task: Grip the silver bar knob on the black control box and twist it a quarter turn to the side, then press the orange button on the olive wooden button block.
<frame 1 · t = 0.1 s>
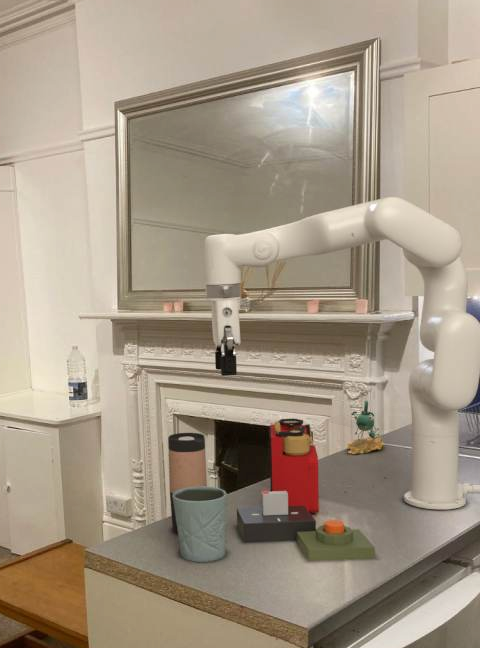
hand: (225, 372, 176), 31 cm above the counter, tool pointing down, fingers open, 9 cm apart
button block: (334, 550, 153), on the counter
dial: (274, 502, 164), point 6 cm above the counter, hinge at 0.0°
button: (334, 527, 153), point 4 cm above the counter, slide at 0.1 cm
travel mug: (189, 531, 169), on the counter
red coffee machine: (293, 508, 180), on the counter
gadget: (275, 533, 165), on the counter
teal embossed cup: (201, 554, 155), on the counter
green character figurine: (367, 448, 231), on the counter
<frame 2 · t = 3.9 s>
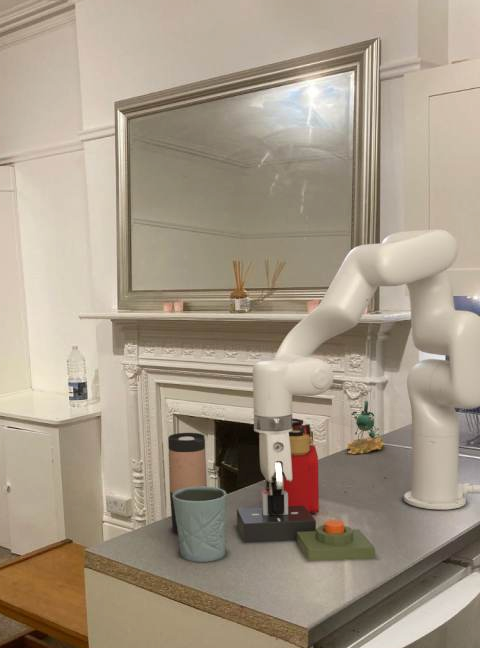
hand: (274, 511, 164), 5 cm above the counter, tool pointing down, fingers closed on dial
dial: (274, 502, 164), point 6 cm above the counter, hinge at 0.0°, touching gripper
everything else where it was.
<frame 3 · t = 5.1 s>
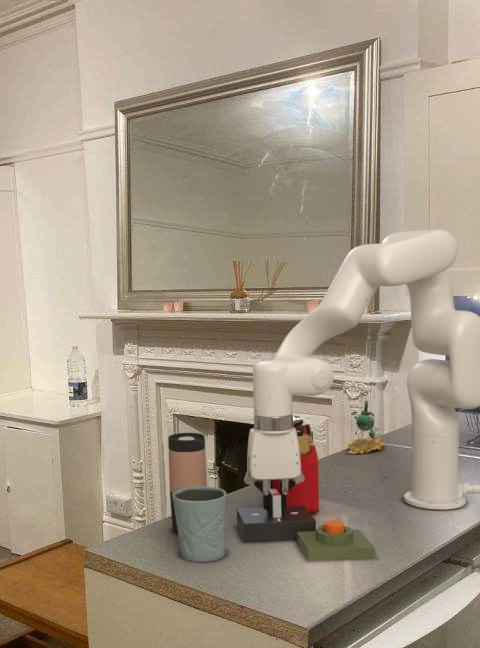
hand: (274, 511, 164), 5 cm above the counter, tool pointing down, fingers closed on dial
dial: (274, 502, 164), point 6 cm above the counter, hinge at 89.9°, touching gripper
everything else where it was.
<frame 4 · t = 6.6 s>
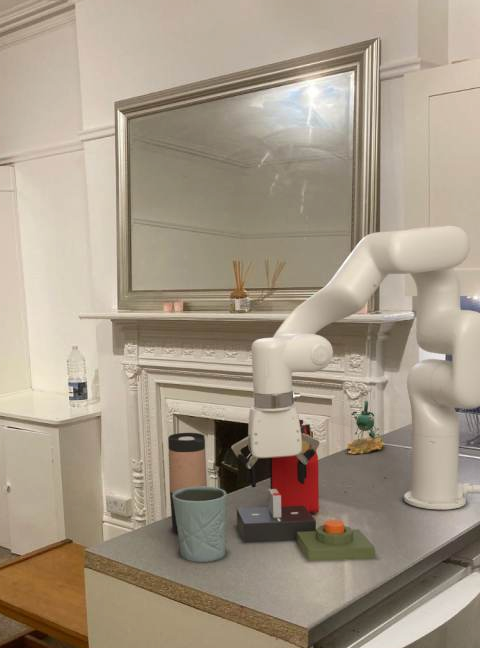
hand: (277, 483, 163), 10 cm above the counter, tool pointing down, fingers open, 9 cm apart
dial: (274, 502, 164), point 6 cm above the counter, hinge at 89.9°
everything else where it was.
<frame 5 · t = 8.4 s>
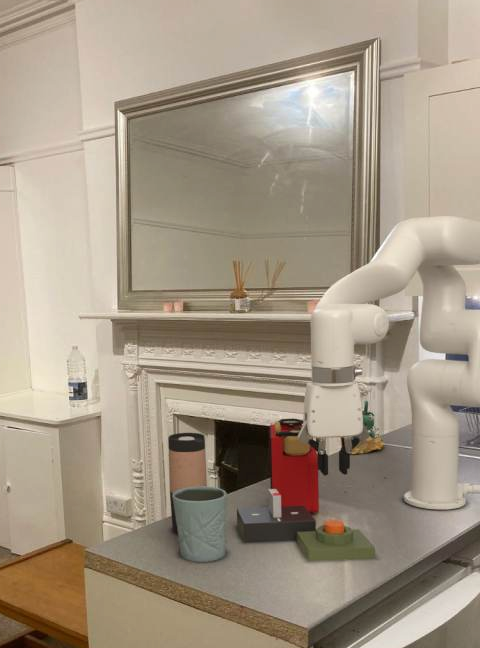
hand: (333, 472, 151), 15 cm above the counter, tool pointing down, fingers closed
nothing on the counter moved.
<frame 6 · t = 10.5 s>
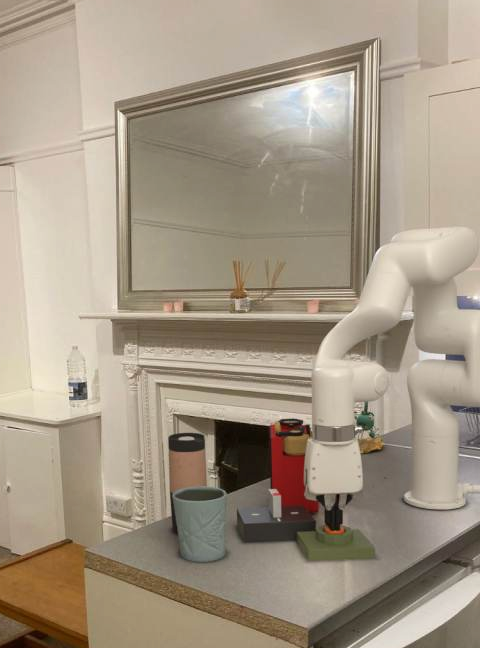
hand: (333, 528, 153), 4 cm above the counter, tool pointing down, fingers closed
button: (334, 532, 153), point 3 cm above the counter, slide at -0.9 cm, touching gripper
everything else where it was.
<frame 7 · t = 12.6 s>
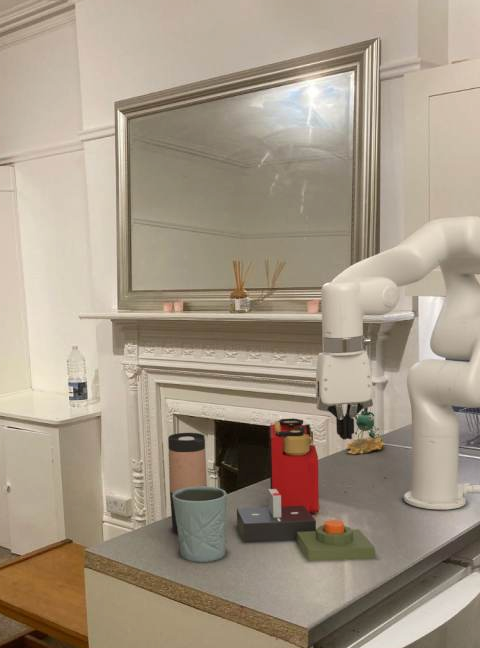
hand: (345, 437, 160), 19 cm above the counter, tool pointing down, fingers closed
button: (334, 527, 153), point 4 cm above the counter, slide at 0.1 cm
everything else where it was.
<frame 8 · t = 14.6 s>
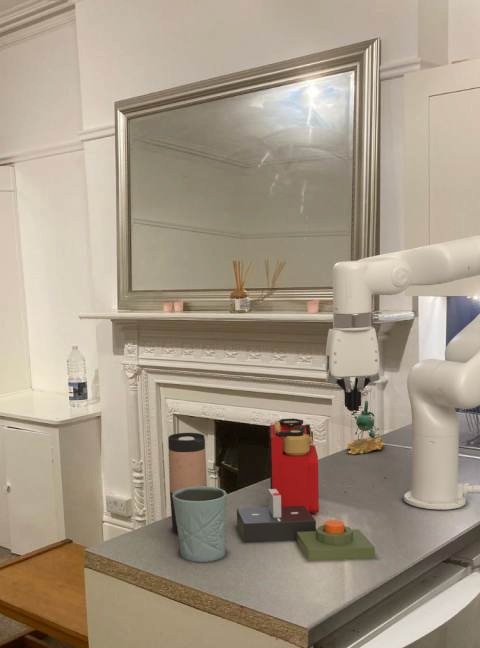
hand: (352, 409, 169), 23 cm above the counter, tool pointing down, fingers closed
nothing on the counter moved.
at the end: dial at +90° (first picture: +0°); button pushed in 1.1 cm at the most during the clip and back out by the end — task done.
